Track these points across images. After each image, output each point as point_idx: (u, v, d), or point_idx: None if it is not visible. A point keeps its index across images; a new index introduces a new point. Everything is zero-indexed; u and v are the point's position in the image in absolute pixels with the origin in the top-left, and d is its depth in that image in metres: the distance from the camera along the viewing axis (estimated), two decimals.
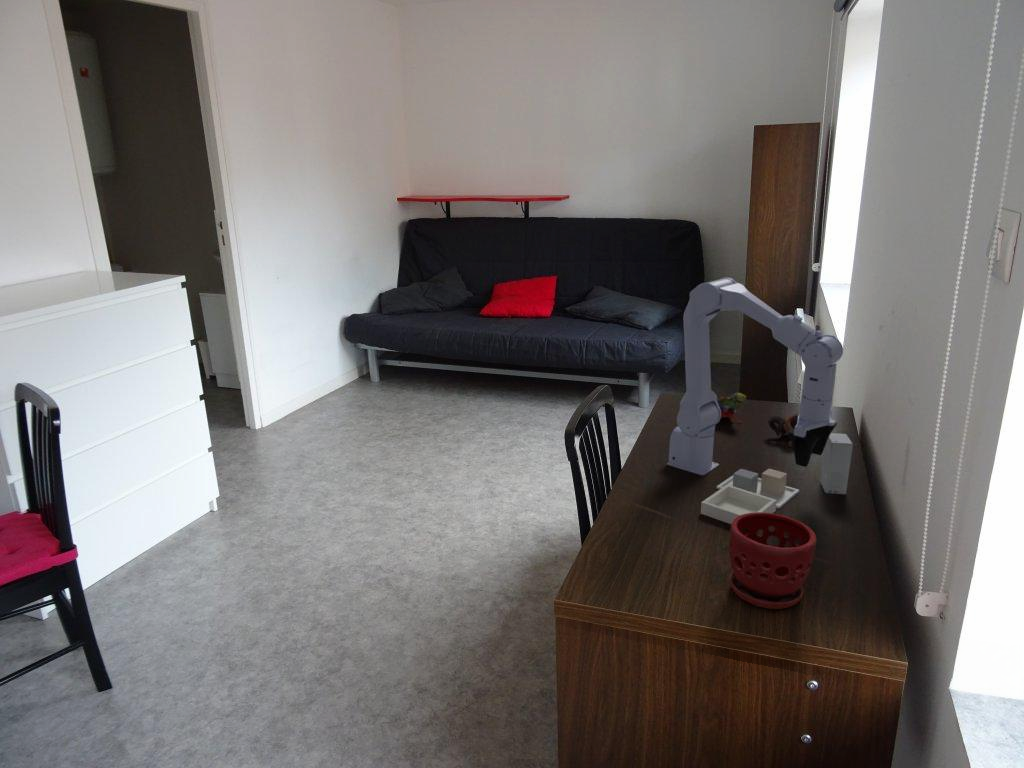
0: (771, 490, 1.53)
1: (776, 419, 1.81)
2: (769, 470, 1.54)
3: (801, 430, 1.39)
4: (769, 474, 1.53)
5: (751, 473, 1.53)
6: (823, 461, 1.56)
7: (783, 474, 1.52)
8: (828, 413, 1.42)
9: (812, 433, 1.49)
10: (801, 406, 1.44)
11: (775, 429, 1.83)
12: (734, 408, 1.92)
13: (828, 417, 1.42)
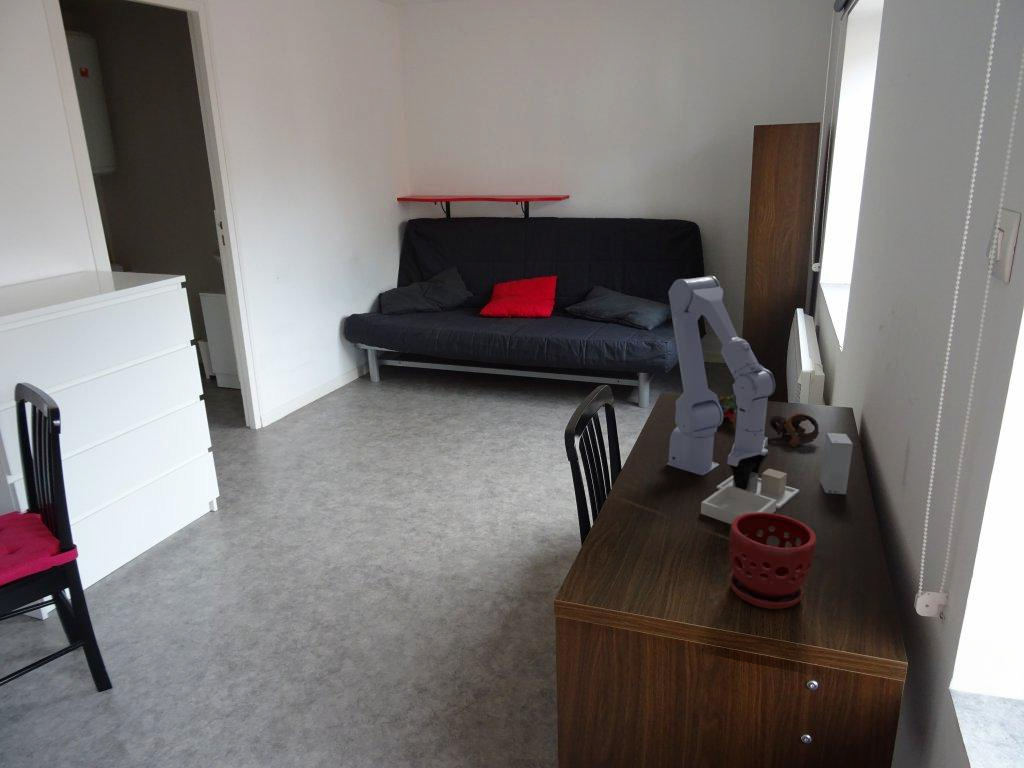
0: (771, 490, 1.53)
1: (777, 418, 1.81)
2: (769, 470, 1.54)
3: (734, 459, 1.46)
4: (769, 474, 1.53)
5: (751, 473, 1.53)
6: (823, 461, 1.56)
7: (783, 474, 1.52)
8: (760, 443, 1.49)
9: None
10: (736, 436, 1.51)
11: (776, 428, 1.83)
12: (734, 408, 1.92)
13: (761, 446, 1.49)
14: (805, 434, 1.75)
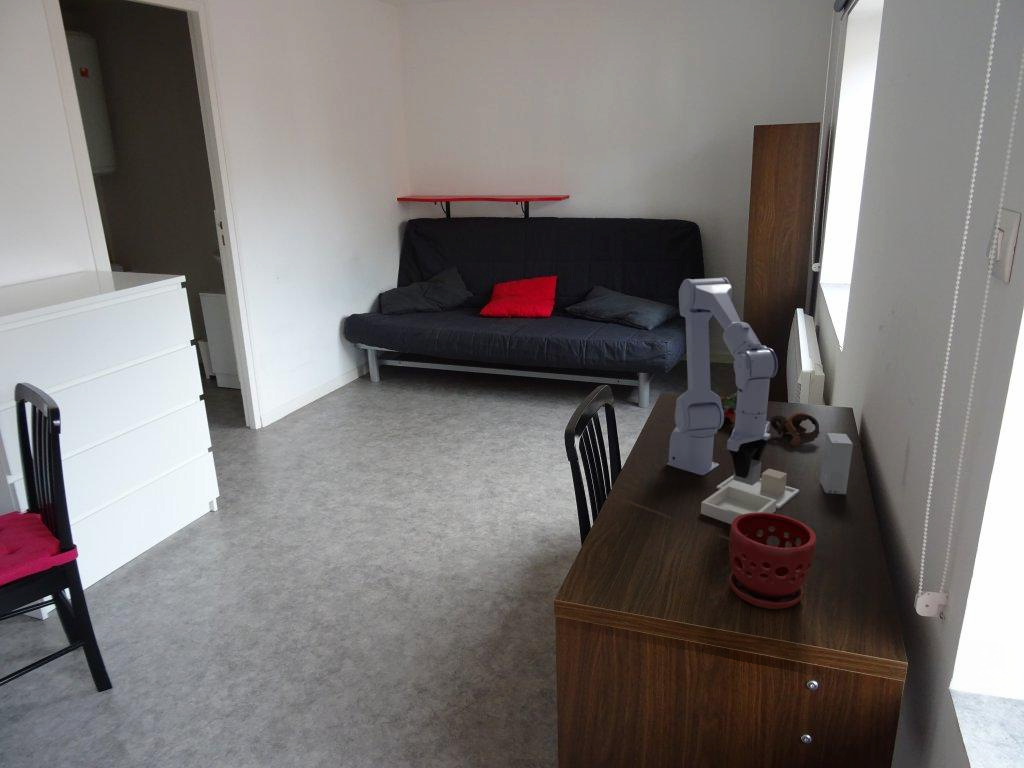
0: (771, 490, 1.53)
1: (778, 418, 1.82)
2: (769, 470, 1.54)
3: (734, 444, 1.36)
4: (769, 474, 1.53)
5: (754, 461, 1.43)
6: (823, 461, 1.56)
7: (783, 474, 1.52)
8: (762, 426, 1.39)
9: None
10: (736, 419, 1.41)
11: (777, 428, 1.83)
12: (734, 408, 1.92)
13: (763, 430, 1.39)
14: (806, 433, 1.76)
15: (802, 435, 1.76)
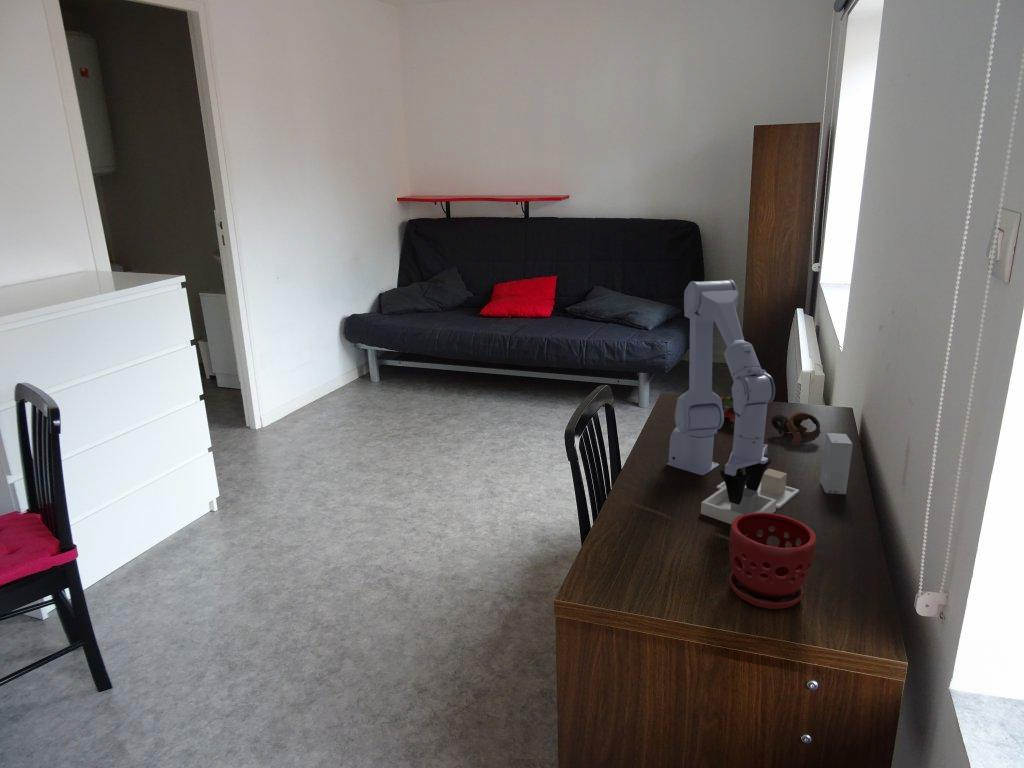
0: (771, 490, 1.53)
1: (779, 418, 1.82)
2: (769, 470, 1.54)
3: (731, 469, 1.38)
4: (769, 474, 1.53)
5: (750, 491, 1.45)
6: (823, 461, 1.56)
7: (783, 474, 1.52)
8: (760, 451, 1.40)
9: (747, 469, 1.48)
10: (733, 443, 1.42)
11: (778, 428, 1.84)
12: None
13: (760, 455, 1.41)
14: (807, 433, 1.76)
15: (803, 434, 1.76)
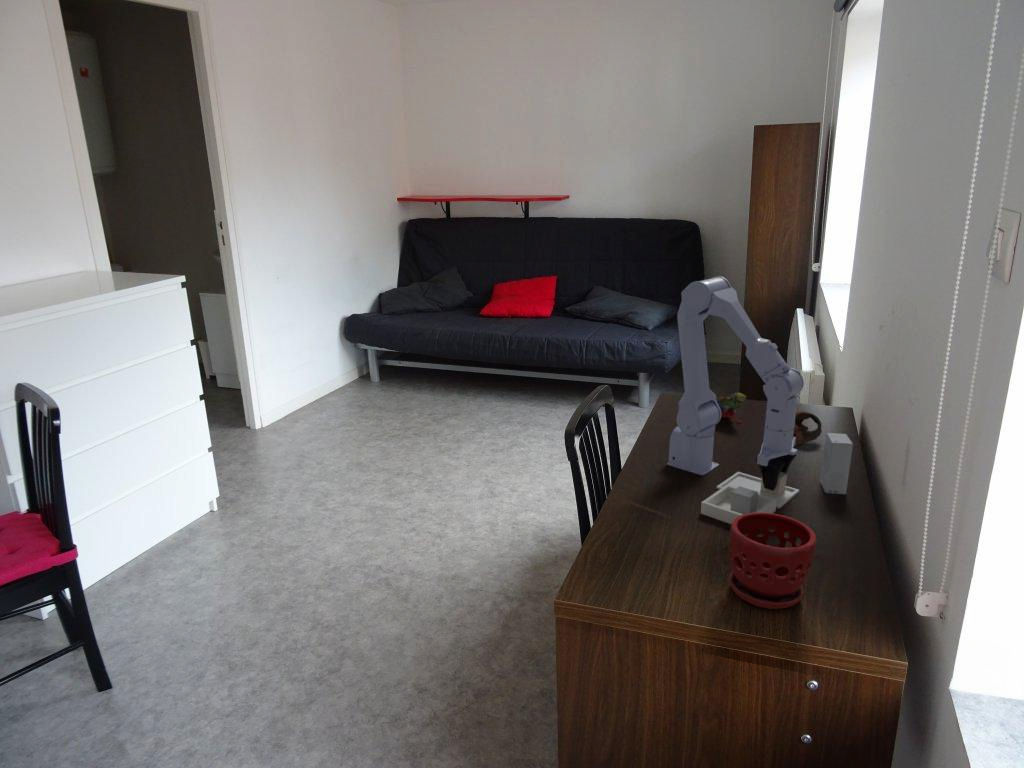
0: (771, 490, 1.53)
1: None
2: None
3: (763, 459, 1.46)
4: None
5: (750, 491, 1.45)
6: (823, 461, 1.56)
7: (783, 474, 1.52)
8: (790, 442, 1.48)
9: None
10: (764, 435, 1.50)
11: None
12: (734, 408, 1.92)
13: (790, 446, 1.49)
14: (809, 432, 1.77)
15: (805, 433, 1.77)
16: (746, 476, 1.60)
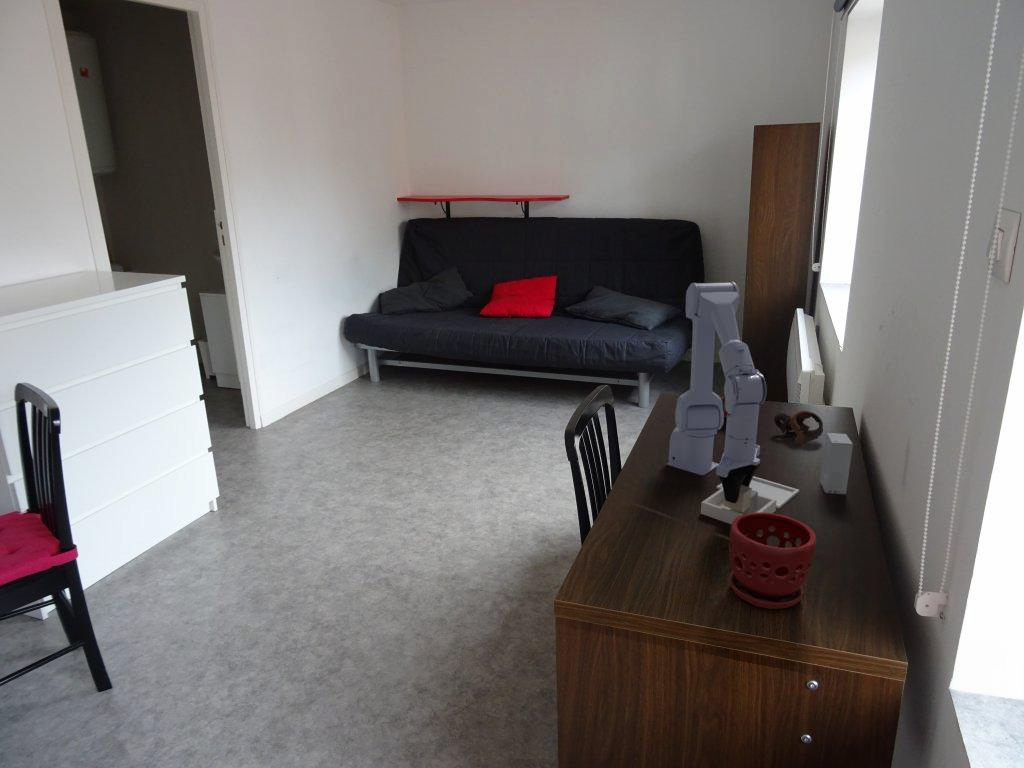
0: (735, 506, 1.41)
1: (782, 416, 1.83)
2: None
3: (723, 470, 1.35)
4: None
5: None
6: (823, 461, 1.56)
7: (747, 489, 1.41)
8: (752, 452, 1.37)
9: None
10: (725, 444, 1.39)
11: (780, 426, 1.85)
12: None
13: (752, 456, 1.38)
14: (810, 431, 1.77)
15: (806, 433, 1.77)
16: None
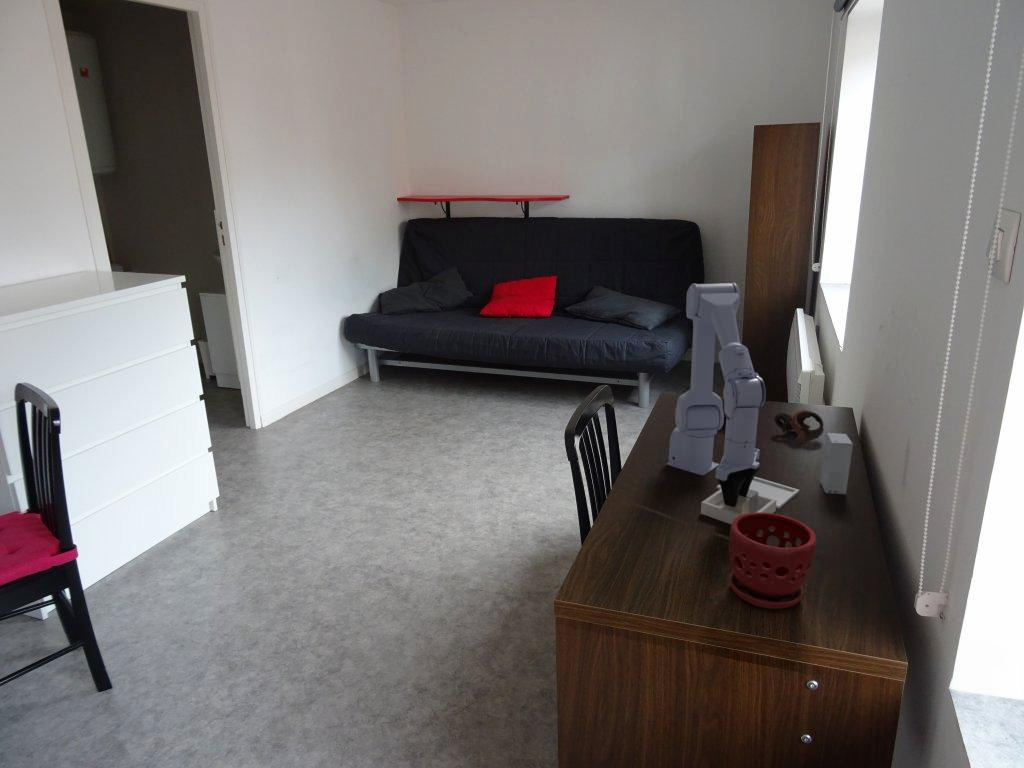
0: None
1: (782, 416, 1.83)
2: None
3: (722, 473, 1.35)
4: None
5: (750, 491, 1.45)
6: (823, 461, 1.56)
7: (746, 499, 1.42)
8: (751, 455, 1.37)
9: None
10: (724, 447, 1.39)
11: (781, 426, 1.85)
12: None
13: (752, 459, 1.38)
14: (811, 431, 1.77)
15: (807, 432, 1.78)
16: None
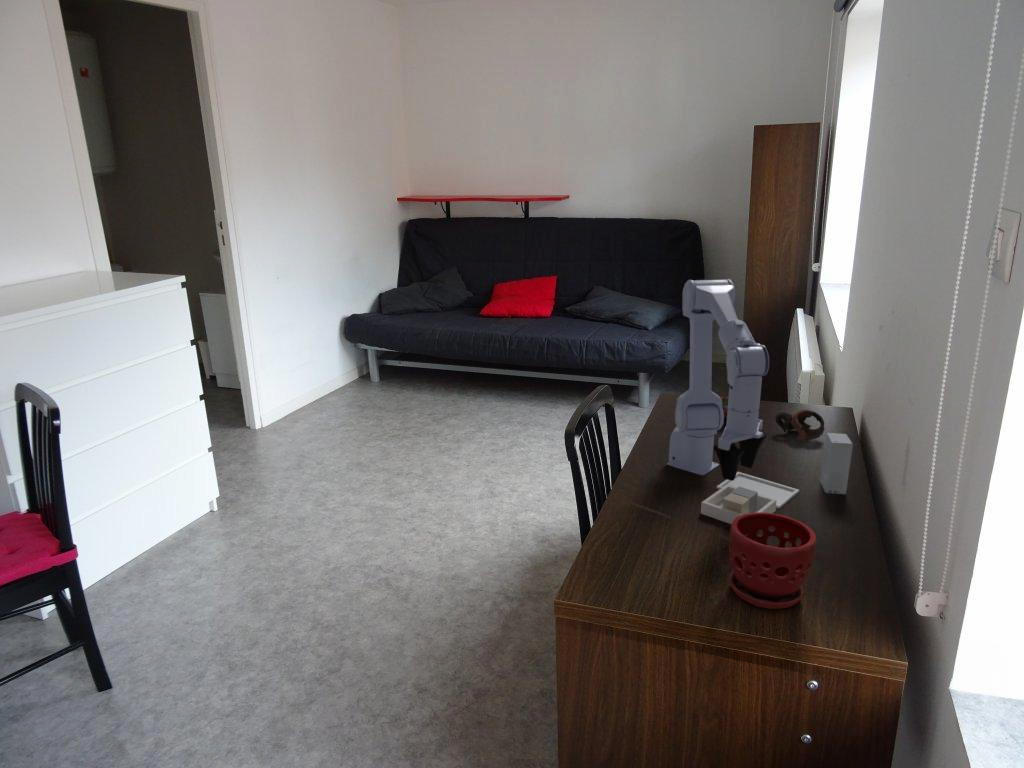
0: None
1: (783, 415, 1.83)
2: (731, 495, 1.44)
3: (725, 443, 1.33)
4: (731, 499, 1.42)
5: (750, 492, 1.45)
6: (823, 461, 1.56)
7: (746, 499, 1.42)
8: (754, 425, 1.36)
9: (742, 445, 1.43)
10: (727, 417, 1.38)
11: (782, 425, 1.85)
12: None
13: (755, 429, 1.36)
14: (812, 430, 1.78)
15: (808, 432, 1.78)
16: (746, 476, 1.60)
